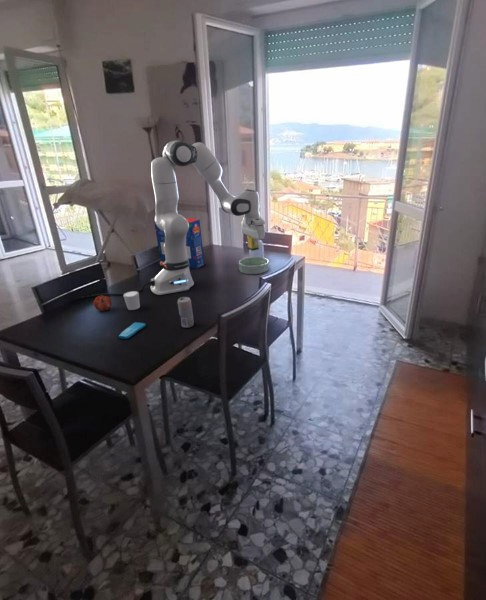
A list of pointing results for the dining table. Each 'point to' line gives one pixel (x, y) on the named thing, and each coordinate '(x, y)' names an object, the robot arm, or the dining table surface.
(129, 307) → the white cylinder
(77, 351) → the dining table surface
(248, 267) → the basin
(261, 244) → the soap bottle
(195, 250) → the pasta box
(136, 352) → the dining table surface
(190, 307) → the energy drink
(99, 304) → the pomegranate
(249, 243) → the scrub block
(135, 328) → the sponge
